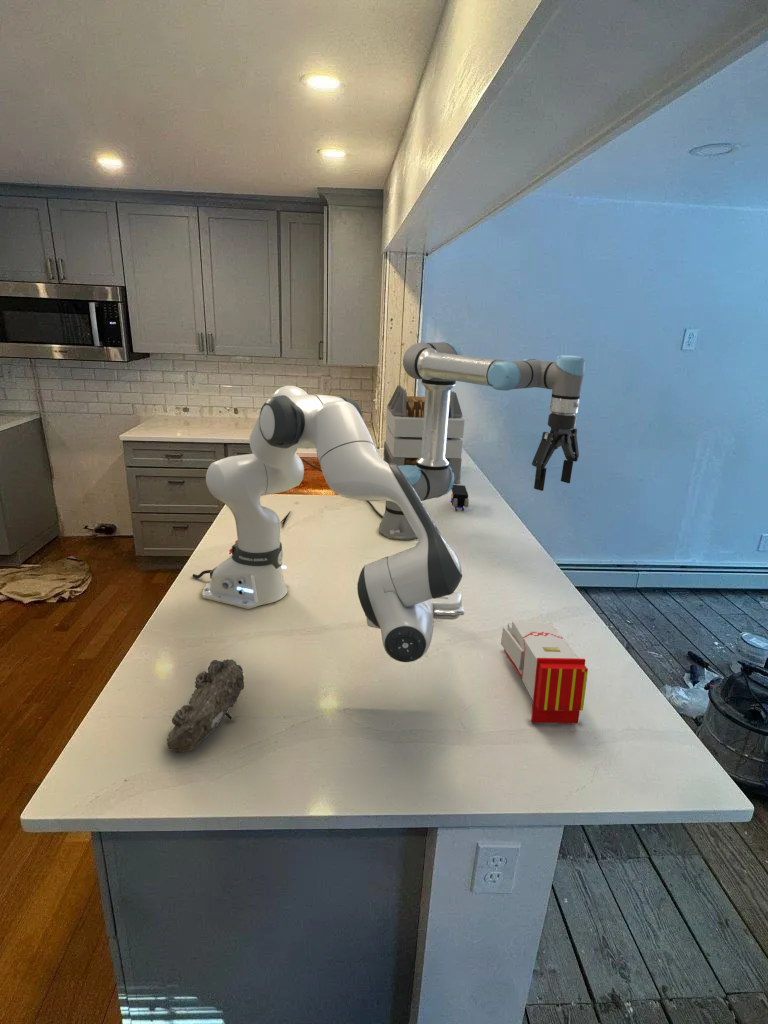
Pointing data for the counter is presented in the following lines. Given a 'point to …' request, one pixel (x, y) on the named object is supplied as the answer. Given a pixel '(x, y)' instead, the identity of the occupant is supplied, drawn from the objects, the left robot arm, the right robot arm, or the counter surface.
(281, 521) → the feather
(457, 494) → the figurine character
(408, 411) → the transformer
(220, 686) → the fossil
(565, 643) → the toy
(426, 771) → the counter surface
